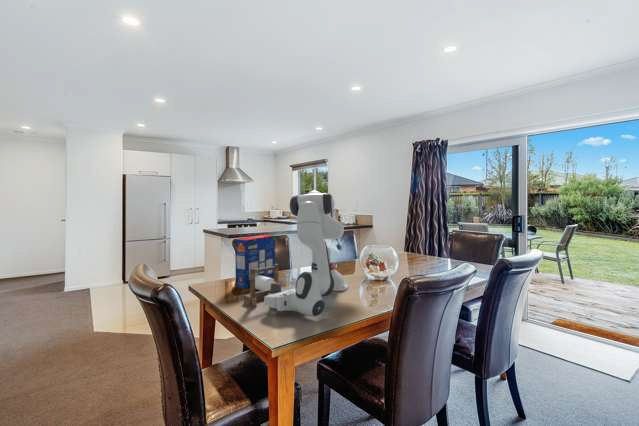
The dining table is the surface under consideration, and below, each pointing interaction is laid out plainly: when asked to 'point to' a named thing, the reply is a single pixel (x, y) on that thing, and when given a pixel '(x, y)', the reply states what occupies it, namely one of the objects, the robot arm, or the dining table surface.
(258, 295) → the wooden rack frame
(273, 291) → the grey corked bottle
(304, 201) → the robot arm
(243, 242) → the pasta box
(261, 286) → the mug
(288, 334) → the dining table surface
